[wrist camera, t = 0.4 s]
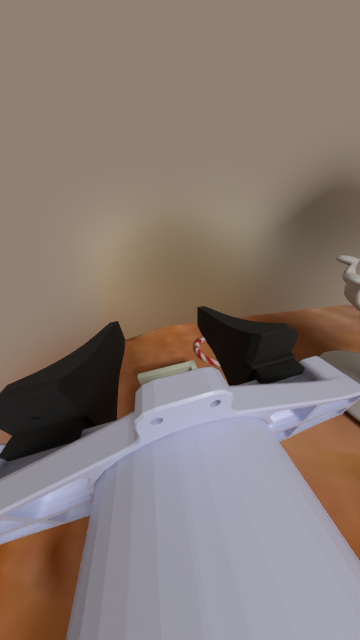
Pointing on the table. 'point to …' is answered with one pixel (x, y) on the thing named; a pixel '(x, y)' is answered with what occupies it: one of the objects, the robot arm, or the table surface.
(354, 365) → the candelabra
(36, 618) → the table surface
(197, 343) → the candy cane
